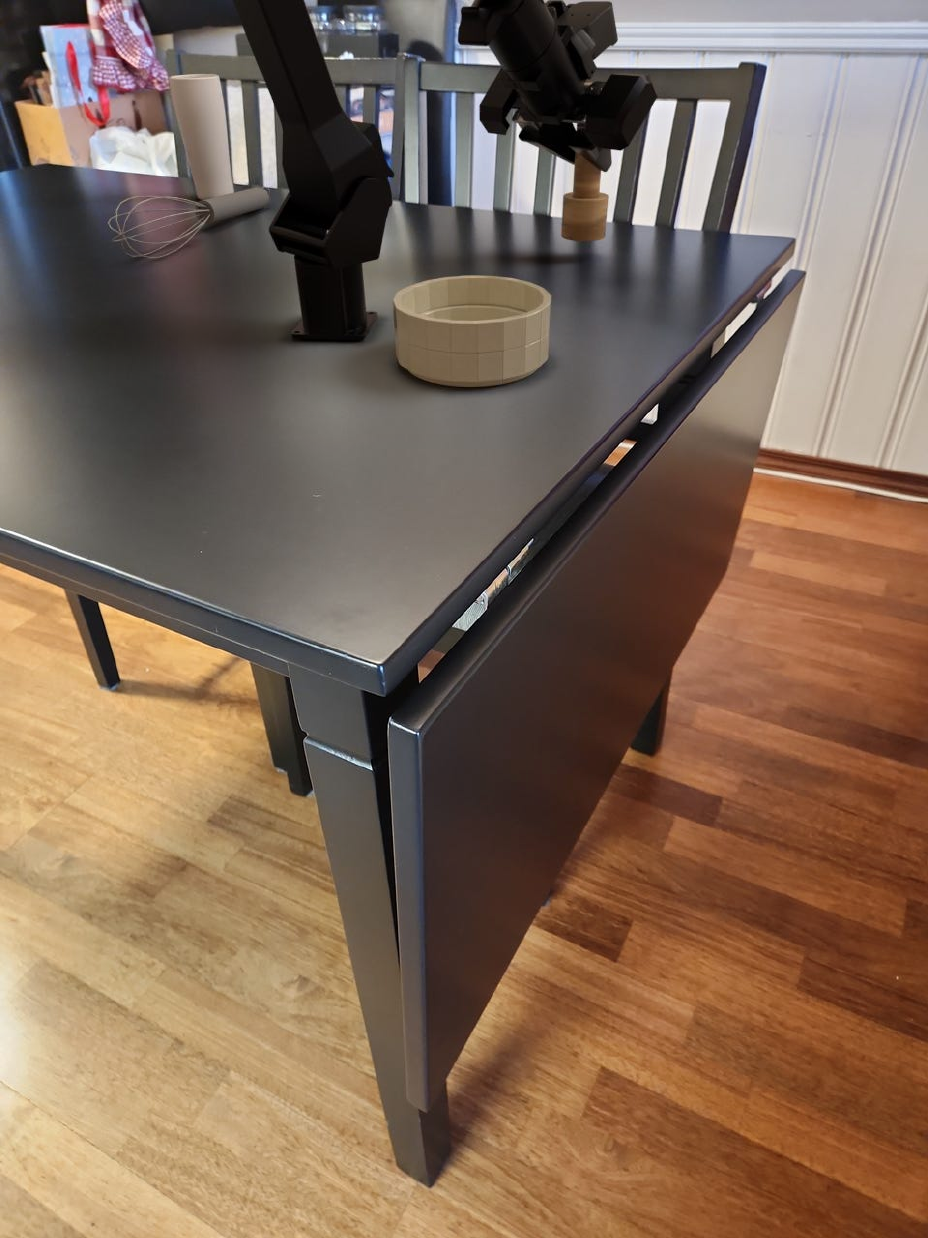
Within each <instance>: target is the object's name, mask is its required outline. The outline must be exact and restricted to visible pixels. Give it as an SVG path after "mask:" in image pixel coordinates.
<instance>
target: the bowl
mask: <svg viewBox="0 0 928 1238" xmlns="http://www.w3.org/2000/svg"><path fill="white" fill-rule="evenodd" d="M551 308H552V294H551V293H550V292H549V291H548V290H547V289H546V288H544V287H542V286H540V285H538V284H535V283H533V282H530V281H527V280H521V279H518V278H514V277H506V276H497V275H459V276H455V275H454V276H444V277H439V278H434V279H427V280H424V281H421V282H416V283H414V284H411V285H408V286H406V287H404V288H403V289H401V290H399V291H398V292H396V293H395V295H394V297H393V298H392V313H393V314H392V315H393V326H394V338H395V339H394V342H395V343H394V344H395V356H396V358H397V361H398V364H399V365H400V366H401V367H403V368H404V369H406V370H407V372H409V373H410V374H411V375H413V376H414V377H416V378H418V379H419V380H422V381H425V382H429V383H433V384H437V385H442V386H448V387H459V388H480V387H482V388H483V387H492V386H499V385H505V384H509V383H512V382H517V381H520V380H523V379H525V378H527V377H529V376H531V375H532V374H534V373H535V372H536V371H537V370H538V369H540V368H541V367H542V365H544V364H545V363H546V362H547V361H549V354H550V353H549V352H550V334H551V333H550V332H551V331H550V330H551V312H552V311H551Z"/></svg>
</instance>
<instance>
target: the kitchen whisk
mask: <svg viewBox="0 0 928 1238" xmlns="http://www.w3.org/2000/svg"><path fill="white" fill-rule="evenodd" d="M267 191H268V192H267ZM270 195H271V192H270V189H269V187H267V186H262V187H258V186H255V187H251V188H247V189H243V190H239V191H234V193H230V194H226V195H222V196H218V197H214V198H210V199H206V200H199V201H198V202H197V201H194V200H189V199H185V198H181V197H174V196H155V195H138V196H137V195H136V196H132V197H128V198H126V199H124V200H122V201H120V202H119V203H118V205H117V207H116V208H115V215H114V216H111V217H110V219H109V221H107V224H108V226H109V228H110V229H111V230H112V231H114V232H115V233H117V234H118V235H116V236H115V237H113V238H112V239H111V242H112V243H117V242H121V248H122V250H123V252H124V253H125V255H127V256H129V257H130V258H140V257H143V258H147V259H161V258H164V257H166V256H170V255H171V254H173V253H174V252H177V251H178V250H179V249H180V248H182V247H183V246H185V245H186V244H187V243H188V242H189V241H190V240H191V239H193V237H194V236H195V235H196V234H197V233H198V232H199V231H200V230H201V228H202V227H203V226H204V225H210V224H213V223H216V222H217V223H218V222H220V221H224V220H227V219H230V218H234V217H238V216H240V215H244V214H247V213H251V212H254V211H258V210H261V209H264V208H265V207H266V206H267V205H268V204H269V202H270ZM138 198H147V199H145V200H143V201H140V202H139V203H137V204H136V205H135V206H134V207H133V208H131V210H130V211H129V212H128V211H127V212H124V213H120V214H118V210H119V208H120V207H121V205H122V204H123V203H125V202H127V201H129V200H133V199H138ZM156 199H164V200H172V201H177V202H181V203H185V204H189V205H193V206H195V207H194V208H167V209H165V208H164V209H150V210H149V209H147V210H136V211H134V210H135V209H136V208H137V207H139V206H140V205H142V204H144V203H145V202H148V201H152V200H156ZM164 211H185V212H179V213H175V214H170V215H166V216H163V217H159V218H156V219H153V220H150V221H147V222H144V223H141V224H139V225H137V226H135V227H131V228H130V229H128V230H126V231H125V227H126V223H127V220H128V219H129V217H130V215H131V214H136V213H137V214H138V213H146V212H147V213H149V212H164ZM190 213H195V215H193V216H190V217H188V218H184V219H182V220H178V221H176V222H172V223H170V224H167V225H164V226H161V227H157V228H155V229H152V230H148V231H145V232H142V233H139V234H135V235H131V236H127V235H125V234H127V233H129V232H131V231H134V230H135V229H139V228H140V227H143V226H145V225H149V224H152V223H154V222H156V221H160V220H164V219H168V218H171V217H175V216H179V215H185V214H190ZM126 215H127V216H126ZM120 216H121V217H122V216H126V218H125V219H124V222H123V226H122V230H121V227H120V225H119V222H118V217H120ZM193 218H197V219H198V221H197V222H196V223H194V224H193V225H192V226H191V227H189V228H188V229H186V230H185V231H184V232H183V233H181V234H179V235H178V236H176V237H175V238H174V239H172V240H168V241H161V242H152V241H151V242H148V241H143V240H140V239H139V240H138V239H134V238H136V237H139V236H142V235H145V234H148V233H152V232H155V231H158V230H161V229H164V228H167V227H171V226H173V225H176V224H179V223H182V222H185V221H188V220H191V219H193ZM113 219H115V223H116V226H117V229H118V230H116V229H114V228H113V227H112V225H111V220H113ZM199 223H200V224H199ZM198 224H199V225H198ZM197 225H198V226H197ZM195 226H196V227H195ZM193 228H194V229H193ZM190 230H191V231H190ZM187 232H188V233H187ZM192 233H193V234H192ZM190 234H192V235H191V236H190V237H189V238H188V239H187V240H186V241H185V242H184V243H182V244H181V245H180V246H178V247H177V248H176V249H174V250H172V251H170V252H168V253H166V254H163V255H160V256H147V255H150V254H153V253H155V252H157V251H159V250H162V249H163V248H165V247H167V246H169V245H170V244H172V243H174V242H175V241H178V240H181V239H183V238H185V237H187V236H189V235H190ZM119 237H121V238H120V239H117V238H119ZM128 240H131V241H134V242H138V243H141V244H149V245H160V244H163V245H162V246H160V247H158V248H156V249H154V250H152V251H150V252H147V253H144V254H142V253H139V252H138V251H137V250H135V249H134V248H133V247H132V246H131V245H130V243H129V242H128ZM124 241H125V243H126V244H127V246H128V247H129V248H130V249H131V250H132V251H133V252H135V253H136V254H137V255H131V254H130V253H128V252H127V251H126V249H125V247H124Z"/></svg>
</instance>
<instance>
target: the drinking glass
mask: <svg viewBox="0 0 928 1238" xmlns="http://www.w3.org/2000/svg"><path fill="white" fill-rule="evenodd" d="M168 80H169V89H170V93H171V99H172V105H173V108H174V109H173V110H174V113H175V116H176V122H177V124H178V129H179V132H180V135H181V139H182V143H183V146H184V150H185V153H186V157H187V161H188V166H189V169H190V172H191V176H192V180H193V184H194V190H195V194H196V197H197V199H199V201H202V200H206V199H210V198H214V197H218V196H222V195H226V194H230V193H234V192H235V190H234V184H233V178H232V176H233V175H232V167H231V157H230V146H229V134H228V123H227V114H226V106H225V105H226V104H225V99H224V93H223V88H222V83H221V78H220V76H219V75H218V74H215V73H190V74H179V75H177V74H176V75H171V76H169V77H168Z"/></svg>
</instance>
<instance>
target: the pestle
mask: <svg viewBox="0 0 928 1238" xmlns="http://www.w3.org/2000/svg"><path fill="white" fill-rule="evenodd" d="M593 82H594V81H591V82H585V83H584V84H585V86H586V87H588V86H589V85H590V84H592V83H593ZM577 125H578V123H576V131H577V130H578V127H577ZM573 166H574V167H573V185H572V191H570V192H567V193H564V194H563V196H562V210H561V211H562V212H561V228H560V229H561V232H560V236H561V238H562V239H565V240H568V241H572V242H594V241H600V240H603V239H605V238H606V233H607V222H608V211H609V194H607V193H605V192H601V179H602V171H601V170H600V169H598V168H597V167H595V166H594V165H593V164H591V163H590V162H589V161H587V160H586V159H585V158H584V157H582V156H581V155H580V154H578V153H577V152H575V165H573Z"/></svg>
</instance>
